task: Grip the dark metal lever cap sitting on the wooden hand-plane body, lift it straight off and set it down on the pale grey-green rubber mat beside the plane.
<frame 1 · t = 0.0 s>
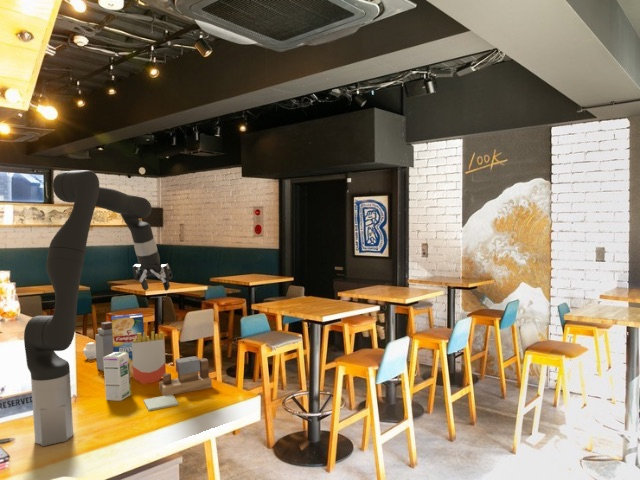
hand: (156, 289, 191), 31 cm above the table, tool tilted 20°, fingers open, 8 cm apart
white lumpy round piece: (91, 358, 214), on the table
french fries container: (149, 381, 183), on the table
perfume bottle: (109, 368, 200), on the table
mat: (160, 403, 161), on the table
plane body: (185, 388, 173), on the table
syrup box: (118, 398, 167), on the table
cereal box: (130, 374, 191), on the table
lever cap: (187, 371, 173), point 6 cm above the table, touching plane body
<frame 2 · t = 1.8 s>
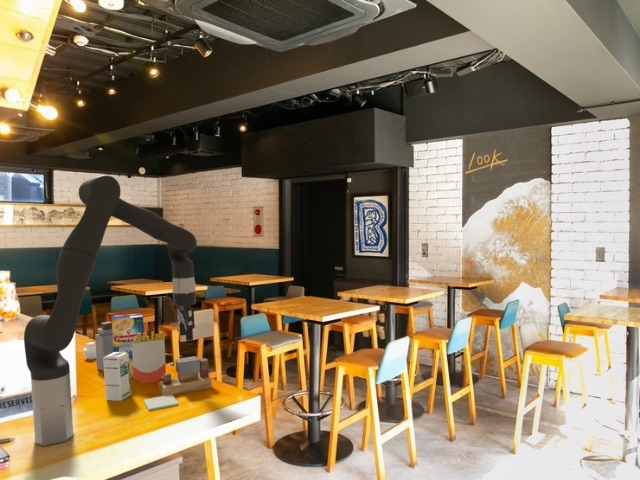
hand: (186, 337, 173), 17 cm above the table, tool pointing down, fingers open, 8 cm apart
nothing on the table moved.
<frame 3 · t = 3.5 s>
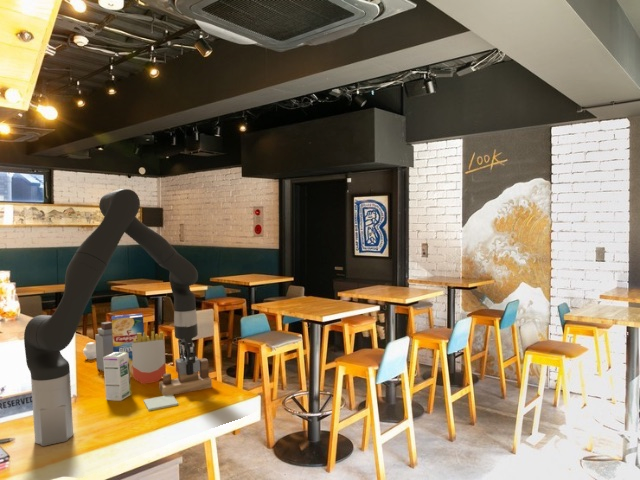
hand: (188, 372, 173), 6 cm above the table, tool pointing down, fingers closed on lever cap, 5 cm apart
lever cap: (187, 371, 173), point 6 cm above the table, touching gripper, plane body
everything else where it was.
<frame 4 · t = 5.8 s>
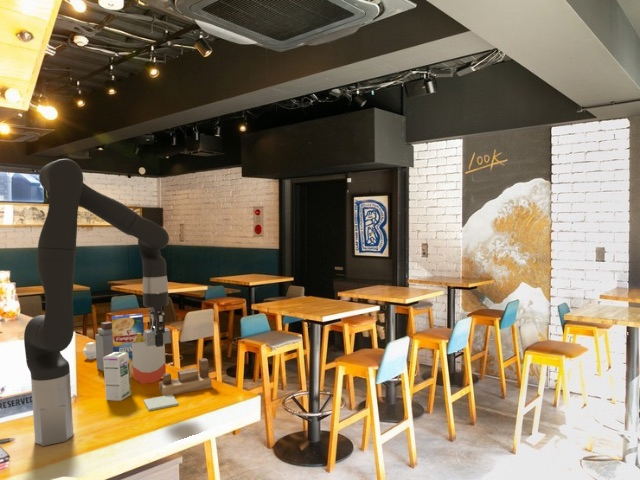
hand: (157, 344, 159), 19 cm above the table, tool pointing down, fingers closed on lever cap, 5 cm apart
lever cap: (157, 342, 159), point 19 cm above the table, touching gripper
everything else where it was.
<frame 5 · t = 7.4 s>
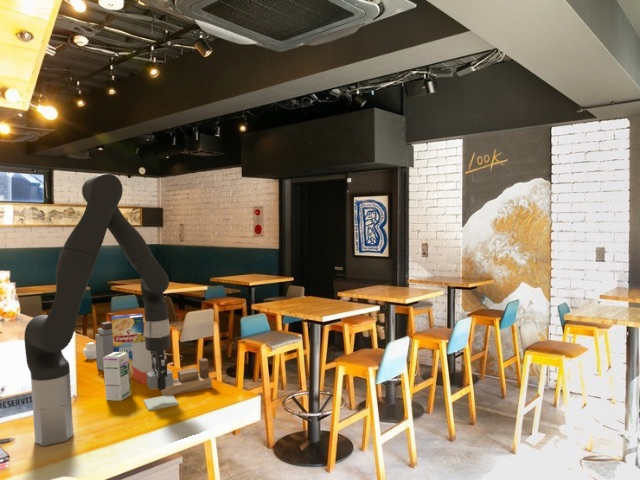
hand: (160, 386, 160), 5 cm above the table, tool pointing down, fingers closed on lever cap, 5 cm apart
lever cap: (160, 385, 160), point 6 cm above the table, touching gripper
everything else where it was.
when the fingers open (2 cm above the table, at t = 8.5 s): lever cap drops 1 cm, resting on mat.
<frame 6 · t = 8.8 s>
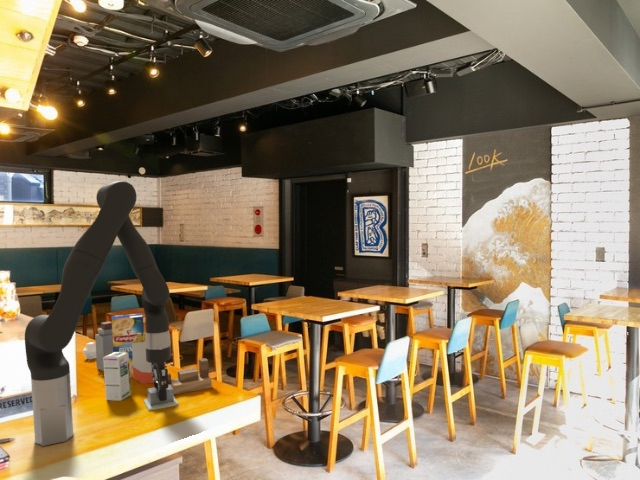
hand: (160, 396, 160), 2 cm above the table, tool pointing down, fingers open, 7 cm apart
lever cap: (160, 401, 161), point 1 cm above the table, touching mat
everything else where it was.
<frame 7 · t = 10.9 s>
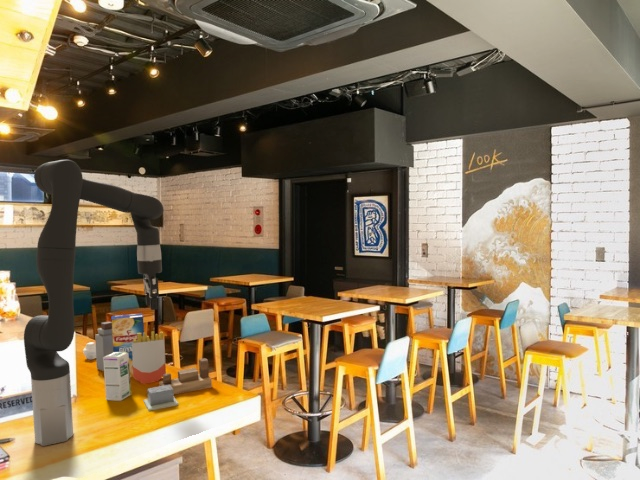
hand: (152, 307, 168), 29 cm above the table, tool pointing down, fingers open, 8 cm apart
nothing on the table moved.
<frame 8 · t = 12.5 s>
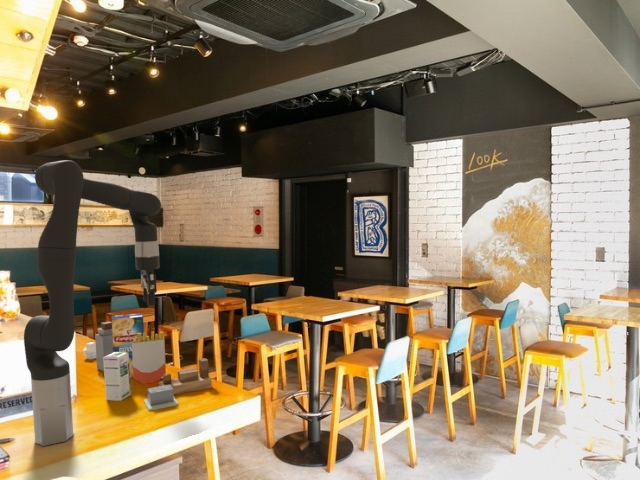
hand: (149, 303, 169), 30 cm above the table, tool pointing down, fingers open, 8 cm apart
nothing on the table moved.
at the end: lever cap inside the target area on the mat (0.1 cm from its centre), point 0.6 cm above the mat's base; lever cap touching mat; the gripper is holding nothing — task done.
